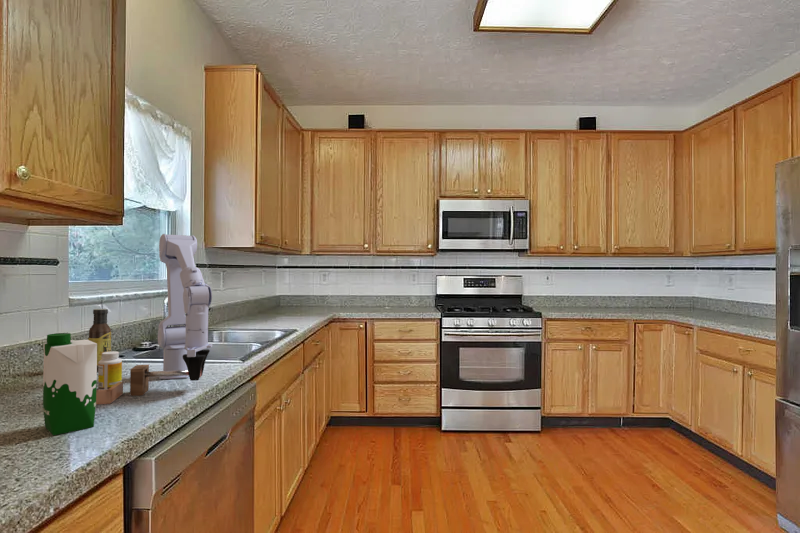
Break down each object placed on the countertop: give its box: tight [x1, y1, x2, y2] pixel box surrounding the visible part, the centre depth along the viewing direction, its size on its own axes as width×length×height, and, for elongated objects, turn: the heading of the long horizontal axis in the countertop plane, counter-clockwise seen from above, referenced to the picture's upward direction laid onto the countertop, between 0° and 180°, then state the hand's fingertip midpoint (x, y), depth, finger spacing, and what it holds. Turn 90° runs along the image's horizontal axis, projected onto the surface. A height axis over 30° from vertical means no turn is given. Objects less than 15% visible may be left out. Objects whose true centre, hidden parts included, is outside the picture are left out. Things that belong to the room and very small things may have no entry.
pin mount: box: [129, 364, 150, 397], centre depth 124 cm, size 5×3×7 cm, turn 13°
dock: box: [96, 381, 124, 405], centre depth 117 cm, size 9×10×3 cm
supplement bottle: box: [97, 350, 123, 390], centre depth 127 cm, size 6×6×10 cm
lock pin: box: [145, 367, 203, 378], centre depth 125 cm, size 2×16×2 cm, turn 104°
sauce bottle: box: [87, 308, 112, 372], centre depth 149 cm, size 6×6×20 cm
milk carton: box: [42, 332, 98, 436], centre depth 97 cm, size 9×9×20 cm
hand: (196, 378), depth 127 cm, fingers open, 4 cm apart
